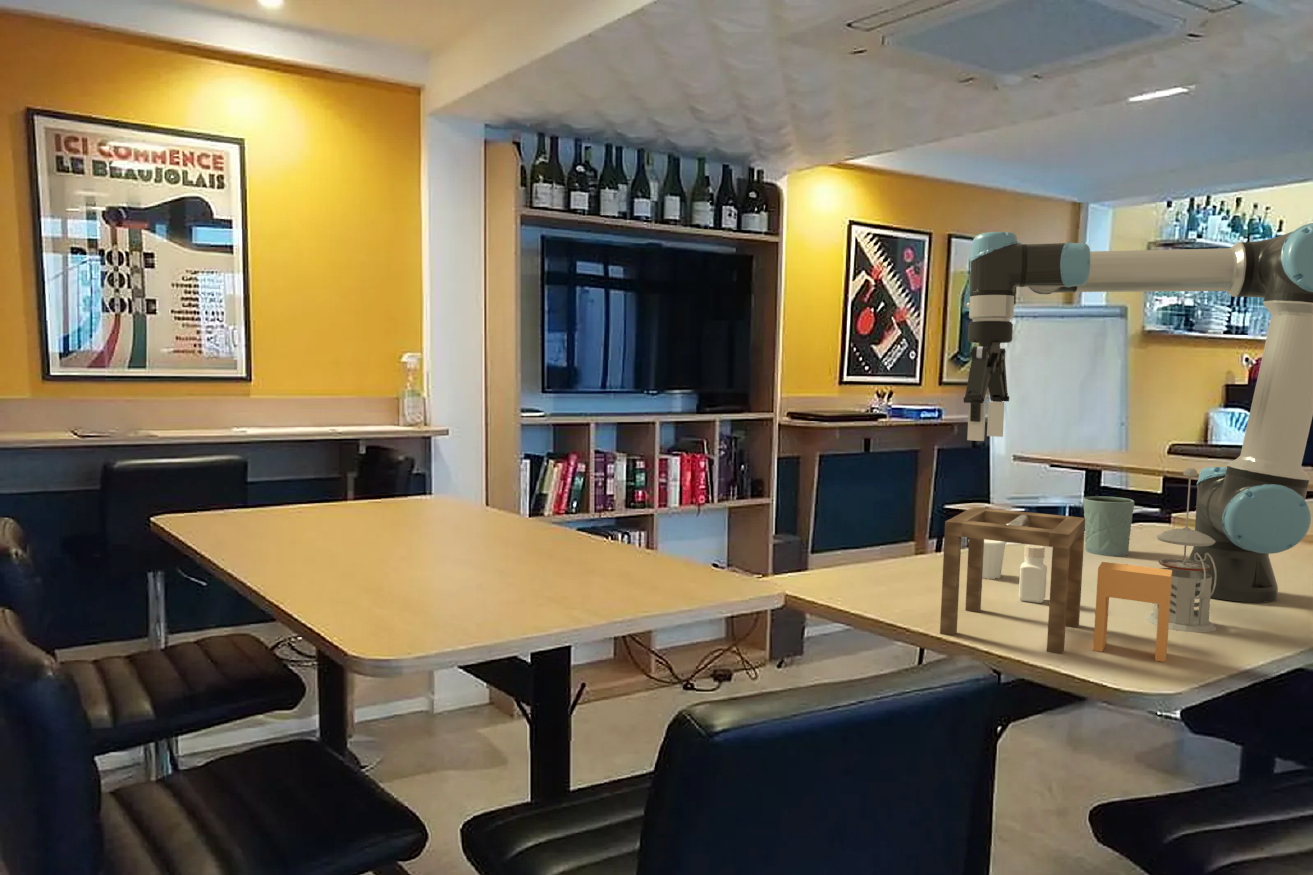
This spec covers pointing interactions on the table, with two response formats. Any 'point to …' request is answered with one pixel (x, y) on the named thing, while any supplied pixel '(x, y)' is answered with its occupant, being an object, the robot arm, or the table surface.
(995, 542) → the white cup
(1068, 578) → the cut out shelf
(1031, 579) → the white pill bottle
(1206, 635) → the table surface
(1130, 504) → the green plant pot
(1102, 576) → the orange arch block
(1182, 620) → the french press
